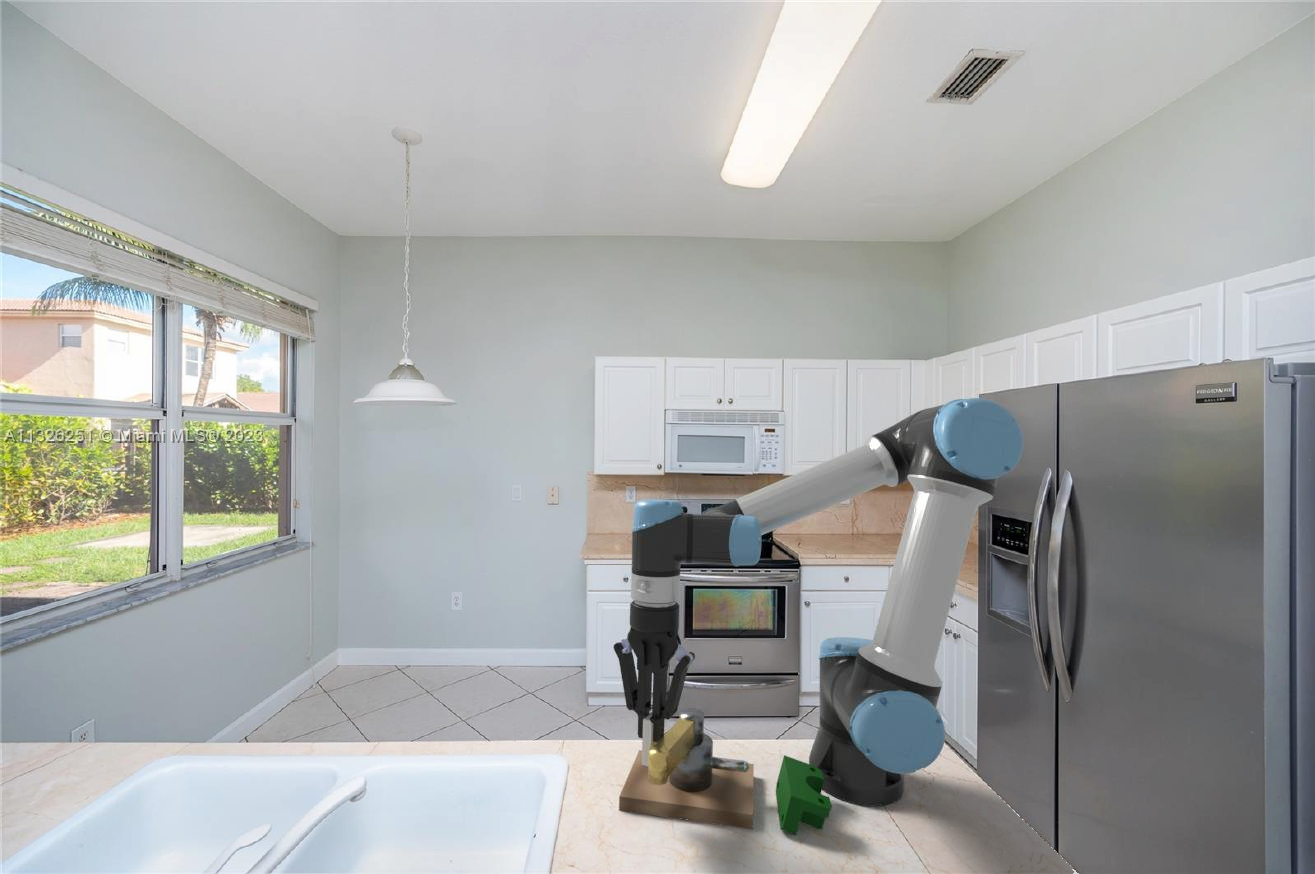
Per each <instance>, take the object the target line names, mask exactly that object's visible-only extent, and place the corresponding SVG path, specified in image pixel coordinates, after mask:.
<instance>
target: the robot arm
mask: <svg viewBox="0 0 1315 874" xmlns="http://www.w3.org/2000/svg"><path fill="white" fill-rule="evenodd" d="M1023 450H1024V437H1023V432H1022V429H1021V426H1020V425H1019V423H1018V422H1017V421H1016V419H1015V418H1014V416H1013V414H1012V413H1011V412H1010V411H1009V409H1006V408H1005V407H1004V406H1003V405H1001V404H1000V403H997V402H995V401H993V400H990V399H986V398H979V397H971V398H959V399H953V400H951V401H949V402H946V403H945V404H941V405H937V406H933V407H928V408H924V409H922V410H919V411H916V412H915V413H912V414H910V415H909V416H907V417H905V418H904V419H902V420H899V422H897V423H895V424H893V425H891V426H889V427H888V428H886V429H884V430H881V431H880V432H877V433H875V434H872V435H870V436H868V437H867V438H866V441H865V443H864V445H861V446H859V447H856V448H854V449H852V450H849V451H847V452H845V453H843V454H840V455H838V456H835V457H833V458H831V459H829V460H827V461H823V462H821V463H818V464H817V465H813V466H812V467H809V468H807V469H804V470H803V471H800V472H797V473H795V474H792V475H791V476H788V477H785V478H783V479H781V480H778V481H775V482H774V483H771V484H769V485H766V486H765V487H762V488H760V489H758V490H755V491H752V492H750V493H748V494H745V495H743V496H741V497H738V498H736V499H734V500H731V501H729V502H727V503H724V504H722V505H720V506H717V507H711V508H708V509H706V510H704V511H702V512H701V514H699V513H698V514H697V513H696V514H694V513H688V512H684V509H683V504H682V502H681V501H679V500H677V499H662V498H661V499H660V498H647V499H646V498H643V499H640V500H638V501H637V502H636V503H635V505H634V508H633V509H634V511H633V522H632V528H631V531H632V532H631V533H632V535H631V536H632V537H631V538H632V539H631V576H630V579H631V580H630V581H631V582H630V583H631V584H630V598H631V600H632V601H631V603H630V605H629V626H630V628H629V631H628V633H627V638H626V637H625V638H624V639H621V640H620V641H618V642H616V643H615V644H613V650H614V652H615V654H616V657H617V659H618V662H619V667H620V668H619V669H620V676H621V680H622V687H623V693H624V700H625V704H626V705H625V706H626V708H627V710H629V711H633V712H635V713H636V715H637V736H638V739H639V738H640V739H642V741H641V743H642V744H641V746H642V747H641V750H642V765H645V766H648V759H649V748H650V747H651V746H653V745H655V744H656V743H657V742H658V741H659V740H660V739H661V738H662V737H663V736H664V735H665V722H666V721H667V720H670V719H671V718H672V717H673V716H674V715H675V714H676V713H677V711H678V708H679V705H680V700H681V698H682V693H683V690H684V689H683V688H684V685H685V681H686V678H687V674H688V669H689V667H690V666H691V664H692V663H693V661H694V660H695V658H696V654H695V653H694V652H692V651H687V650H686V649H685V648H684V647H683V646H682V640H681V638H680V635H679V628H680V604H679V603H678V601H679V600H680V597H681V564H701V565H703V564H705V565H720V566H721V565H723V566H724V565H725V566H734V567H739V566H755V565H757V564H758V563H759V561H760V558H761V552H762V536H763V535H765V534H768V533H770V532H773V531H775V530H778V529H780V528H783V527H786V526H787V525H790V524H792V523H795V522H798V521H799V520H801V519H804V518H806V517H809V516H811V515H814V514H816V513H819V512H821V511H823V510H826V509H828V508H831V507H833V506H835V505H838V504H841V503H843V502H845V501H848V500H850V499H852V498H855V497H857V496H860V495H862V494H865V493H867V492H870V491H871V490H874V489H876V488H879V487H882V486H884V485H886V486H887V487H892V488H894V487H897V486H899V485H902V484H904V483H906V482H909V483H910V484H911V487H912V488H913V495H912V497H911V502H910V505H909V509H908V513H907V515H906V516H907V517H906V520H905V524H904V527H903V531H902V534H901V539H900V542H899V545H898V549H897V552H896V556H895V560H894V562H893V568H892V570H891V573H890V578H889V581H888V585H887V588H886V592H885V595H884V599H883V602H882V606H881V610H880V613H879V617H878V619H877V625H876V628H875V631H874V635H873V639H870V638H869V639H867V638H859V637H849V636H848V637H847V636H845V637H843V636H841V637H839V636H838V637H830V638H825V639H824V640H823V641H821V643H820V646H819V655H818V660H819V727H818V729H817V733H816V736H815V738H814V741H813V744H812V747H811V750H810V752H809V756H808V757H809V758H808V764H810V765H813V766H815V767H817V768H818V769H820V770H821V772H822V774H823V777H824V783H823V787H822V791H824V792H826V793H827V794H829V795H831V796H834V797H835V798H837V799H840V800H843V801H845V802H848V803H853V804H858V805H864V806H886V805H890V804H892V803H893V804H894V803H896V802H897V801H899V800H900V799H901V798H902V797H903V795H904V792H905V777H904V774H905V775H906V774H907V775H908V774H913V773H915V772H917V771H919V770H921V769H925V768H927V767H929V766H930V765H932V764H933V763H934V762H935V761H936V759H938V757H939V756H940V755H941V752H942V750H943V747H944V744H945V740H946V730H945V728H946V727H945V725H944V721H943V720H942V715H941V714H940V712H939V710H938V708H937V706H938V705H937V704H938V702H939V698H940V694H941V691H942V686H943V681H942V679H941V677H940V675H939V673H938V672H937V670H936V667H935V665H936V660H937V657H938V653H939V649H940V646H941V643H942V642H941V641H942V638H943V635H944V630H945V628H946V623H947V620H948V616H949V612H950V609H951V605H952V602H953V599H954V595H955V591H956V586H957V583H958V580H959V577H960V576H959V575H960V573H961V569H962V565H963V562H964V557H965V555H966V552H967V551H966V550H967V548H968V542H969V539H970V536H971V532H972V528H973V524H974V522H975V521H974V520H975V517H976V513H977V510H978V508H979V507H980V506H982V505H983V504H986V503H988V502H990V501H991V500H993V499H994V494H995V491H996V488H997V483H998V479H999V478H1000V477H1002V476H1004V475H1006V474H1007V473H1009V472H1011V471H1012V470H1013V469H1014V468H1015V467H1016V466H1017V465H1018V463H1019V461H1020V460H1021V458H1022V454H1023ZM633 653H634V654H633ZM675 654H676V655H675ZM634 655H635V657H636V662H635V660H634ZM674 656H676V657H675V664H676V665H675V667H674V671H673V673H672V674H673V675H672V678H671V682H670V685H669V691H667V690H668V670H669V666H670V661H671V660H672V658H673V657H674ZM635 663H636V664H635ZM635 665H636V666H635ZM636 670H637V671H636ZM651 711H652V712H651ZM665 720H666V721H665Z"/></svg>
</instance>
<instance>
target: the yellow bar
mask: <svg viewBox="0 0 1315 874" xmlns="http://www.w3.org/2000/svg"><path fill="white" fill-rule="evenodd" d="M678 713H679V714H678V715H679V716H678V717H679V718H678V720H677V721H676V722H675V723H674V724H673V725H672V726H671V727H670V728H669V729H668V730H667V732H665V733H664V736H663V737H662V738H661V739H660V740H659V741H658V742H657V743H656V744H655V745H653V746H651V747H650V748H649V759H648V781H649V782H650V783H651V784H654V785H663V784H665V783H667V781H668V777H669V776H670V774H671V773H672V772H673V770H674V769H675V768H676V767H677V765H678V764H679V763H680V762H681V760H682V759H683V758H684V757H685V755H686V754H687V753H688V751H689V750H690V749H691V748H692V746H693V745H697V744H700V743H702V742H703V740H704V732H705V731H704V729H705V727H704V726H705V712H704V711H703V710H701V709H699V708H695V707H686V708H682V709H681V710H680V711H679V712H678Z"/></svg>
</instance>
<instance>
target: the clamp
mask: <svg viewBox="0 0 1315 874" xmlns="http://www.w3.org/2000/svg"><path fill="white" fill-rule="evenodd" d="M823 783H824V777H823V774H822V772H821V770H820V769H818V768H817V767H815V766H813V765H810V764H809V763H807V762H804V761H801V760H798V759H796V758H793V757H790V756H787V755H783V757H782V762H781V766H780V770H779V774H778V777H777V782H776V787H775V797H776V804H777V811H778V812H777V814H778V822H779V827H780V829H779V830H781V831H784V832H786V833H789V834H792V835H794V836H797V834H798V831H799V828H800V824H801V823H802V824H804V825H807V826H810V827H812V828H815V829H817V830H823V827H824V824H825V819H827V818H829V817H830V814H831V810H832V801H831V799H830V798H831V797H830V796H827V795H824V794H822V791H823V789H822V787H823Z"/></svg>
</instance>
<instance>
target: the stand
mask: <svg viewBox="0 0 1315 874" xmlns="http://www.w3.org/2000/svg"><path fill="white" fill-rule="evenodd" d="M747 763H748V762H747ZM748 764H749V770H748V771H747V772H737V771H729V770H721V769H713V768H712V784H711V786H710V787H709V788H707V789H706V790H703V791H699V792H686V791H682V790H679V789H677V788H675V787H674V786H672V785H671V783H670V782H669V777H668V781H667V783H665V784H663V785H654V784H651V783H650V782H649V781H648V766H645V765H642V749H639V750H638V752H637V755H636V757H635V759H634V762H633V764H632V766H631V769H630V771H629V773H628V775H627V778H626V780H625V782H624V784H623V787H622V790H621V791H620V795H619V797H618V800H619V801H618V802H619V803H618V810H619V811H623V812H630V813H636V814H637V813H638V814H644V815H651V816H657V817H658V816H659V817H664V818H673V819H677V818H678V820H679V818H682V819H681V820H684V819H688V820H687V821H691V820H692V822H693V821H694V822H698V821H699V823H705V822H708V823H707V824H714V825H721V826H727V827H734V828H741V829H748V830H753V829H754V779H755V778H754V771H755V769H754V763H748Z"/></svg>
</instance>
